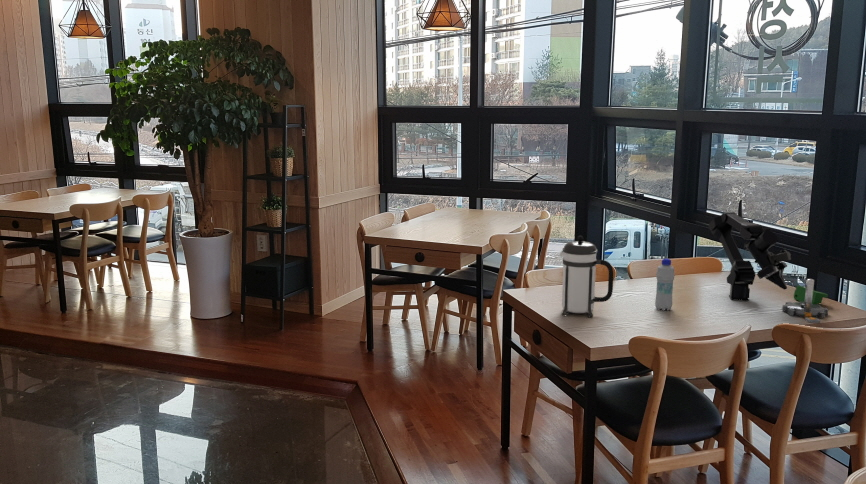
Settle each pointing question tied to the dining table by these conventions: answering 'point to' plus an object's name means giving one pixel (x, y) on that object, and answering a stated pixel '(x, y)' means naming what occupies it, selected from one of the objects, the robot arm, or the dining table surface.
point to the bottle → (664, 285)
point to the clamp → (816, 296)
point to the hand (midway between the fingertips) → (785, 289)
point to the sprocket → (806, 305)
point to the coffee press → (581, 277)
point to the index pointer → (812, 320)
